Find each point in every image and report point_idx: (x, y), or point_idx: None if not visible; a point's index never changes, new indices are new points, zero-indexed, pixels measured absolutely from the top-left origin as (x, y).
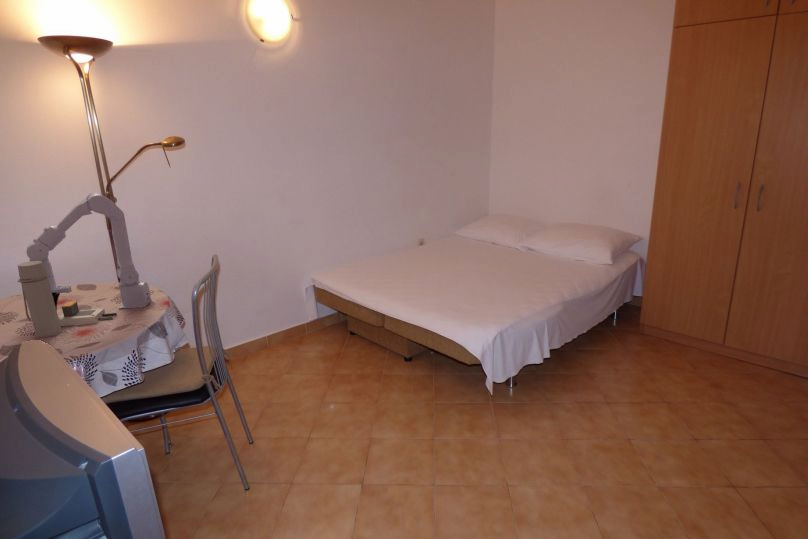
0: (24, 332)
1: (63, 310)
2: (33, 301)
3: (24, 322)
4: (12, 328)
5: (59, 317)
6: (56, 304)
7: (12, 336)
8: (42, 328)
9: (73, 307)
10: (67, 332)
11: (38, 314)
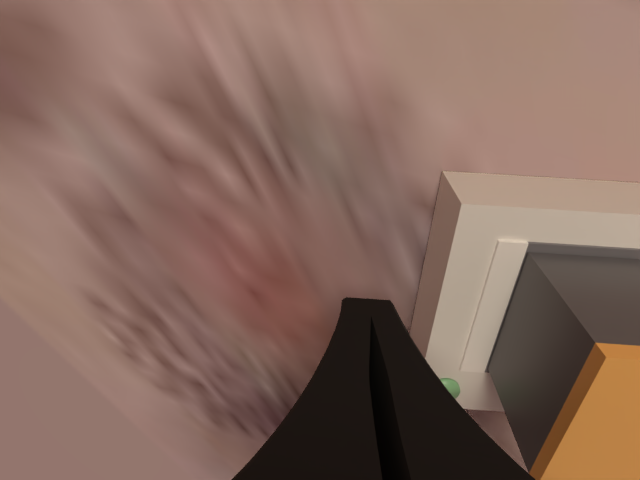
0: (206, 387)
1: (523, 431)
2: None
3: (23, 170)
4: (36, 290)
5: (441, 365)
6: (424, 373)
7: (167, 422)
8: None
9: None
10: (519, 460)
11: None
